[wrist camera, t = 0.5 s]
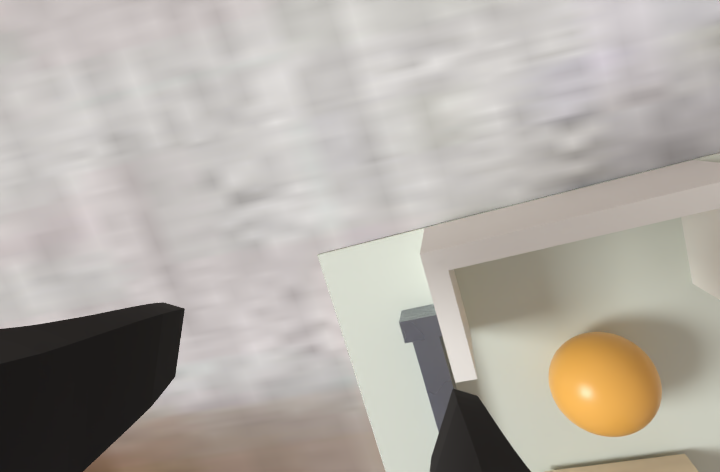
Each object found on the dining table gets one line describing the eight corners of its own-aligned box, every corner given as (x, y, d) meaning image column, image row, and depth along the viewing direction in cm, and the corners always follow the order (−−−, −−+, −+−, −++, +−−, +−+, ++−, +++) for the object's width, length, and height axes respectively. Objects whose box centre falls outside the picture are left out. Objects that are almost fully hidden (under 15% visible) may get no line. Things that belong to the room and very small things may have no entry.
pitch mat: (827, 477, 20) (830, 480, 20) (403, 523, 24) (402, 526, 24) (782, 136, 17) (785, 137, 17) (318, 254, 22) (317, 255, 21)
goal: (714, 279, 19) (797, 323, 14) (452, 331, 21) (455, 382, 17) (694, 160, 18) (775, 168, 14) (424, 228, 20) (419, 254, 16)
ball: (644, 391, 20) (691, 452, 16) (549, 406, 21) (574, 467, 17) (626, 308, 20) (673, 350, 16) (530, 326, 20) (551, 371, 17)
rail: (500, 521, 23) (504, 549, 21) (464, 524, 23) (466, 552, 22) (439, 300, 21) (439, 313, 20) (401, 308, 21) (399, 322, 20)
